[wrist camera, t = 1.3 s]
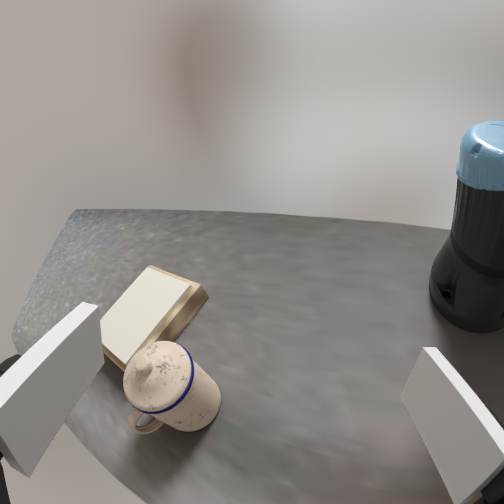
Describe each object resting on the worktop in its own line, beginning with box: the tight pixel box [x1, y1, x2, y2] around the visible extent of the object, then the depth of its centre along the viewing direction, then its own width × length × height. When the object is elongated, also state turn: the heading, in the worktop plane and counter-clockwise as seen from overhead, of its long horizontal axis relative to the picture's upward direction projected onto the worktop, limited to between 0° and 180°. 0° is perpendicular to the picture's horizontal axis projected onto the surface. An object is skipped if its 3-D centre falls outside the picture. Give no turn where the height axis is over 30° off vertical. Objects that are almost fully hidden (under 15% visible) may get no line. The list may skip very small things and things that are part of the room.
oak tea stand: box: [100, 265, 209, 372], centre depth 46 cm, size 18×14×4 cm
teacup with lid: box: [123, 341, 221, 434], centre depth 30 cm, size 12×9×12 cm
